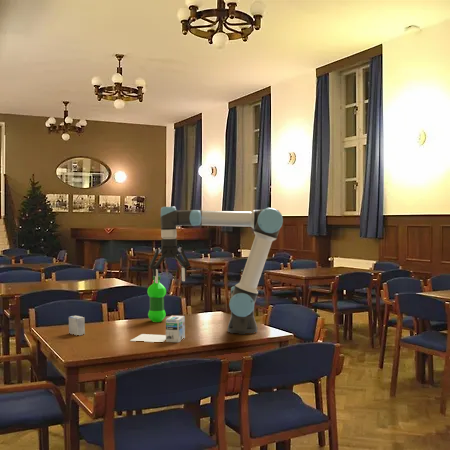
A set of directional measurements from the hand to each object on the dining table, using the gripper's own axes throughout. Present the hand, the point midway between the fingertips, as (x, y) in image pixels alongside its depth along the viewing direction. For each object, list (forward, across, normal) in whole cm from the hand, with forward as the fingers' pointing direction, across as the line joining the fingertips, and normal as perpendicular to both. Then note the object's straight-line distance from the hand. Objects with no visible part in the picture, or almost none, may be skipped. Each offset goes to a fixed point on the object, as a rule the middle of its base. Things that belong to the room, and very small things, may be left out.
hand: (170, 282), depth 279 cm
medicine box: (+26, +42, -24) cm, 55 cm away
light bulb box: (+27, 0, +8) cm, 28 cm away
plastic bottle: (+26, -4, -41) cm, 49 cm away
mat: (+26, +10, 0) cm, 28 cm away
